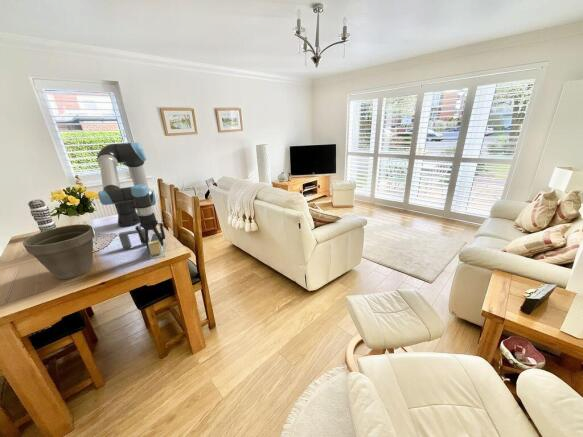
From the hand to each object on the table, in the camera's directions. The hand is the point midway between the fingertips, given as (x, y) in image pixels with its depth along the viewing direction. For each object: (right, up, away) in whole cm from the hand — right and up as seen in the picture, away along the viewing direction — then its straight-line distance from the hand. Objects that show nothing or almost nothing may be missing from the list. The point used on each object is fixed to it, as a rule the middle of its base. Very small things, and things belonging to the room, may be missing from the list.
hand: (156, 251), depth 136 cm
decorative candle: (-93, +8, +31) cm, 98 cm away
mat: (-1, 0, +4) cm, 4 cm away
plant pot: (-35, -9, -13) cm, 38 cm away
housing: (-18, +2, +11) cm, 21 cm away
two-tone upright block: (-2, +2, +5) cm, 5 cm away
